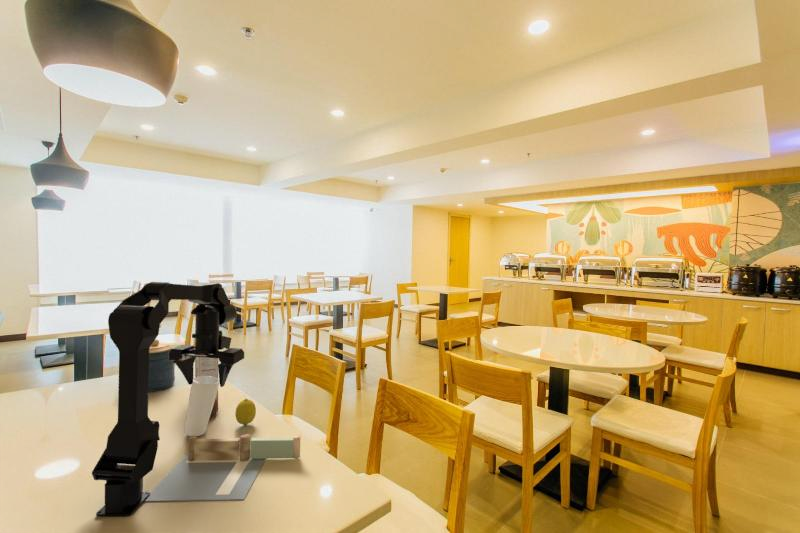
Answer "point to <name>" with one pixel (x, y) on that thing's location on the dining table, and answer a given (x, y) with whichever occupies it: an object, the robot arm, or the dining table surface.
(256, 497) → the dining table surface
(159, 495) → the card
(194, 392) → the white tumbler
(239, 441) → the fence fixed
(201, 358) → the cracker box
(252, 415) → the lemon
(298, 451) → the fence panel
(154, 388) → the canister
